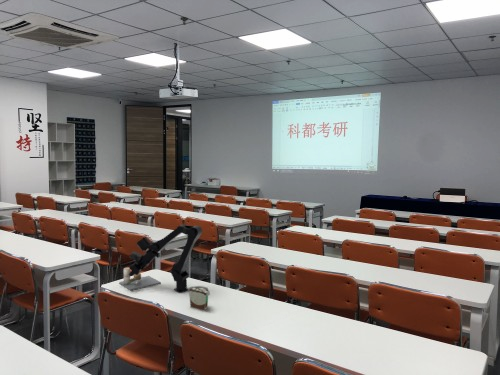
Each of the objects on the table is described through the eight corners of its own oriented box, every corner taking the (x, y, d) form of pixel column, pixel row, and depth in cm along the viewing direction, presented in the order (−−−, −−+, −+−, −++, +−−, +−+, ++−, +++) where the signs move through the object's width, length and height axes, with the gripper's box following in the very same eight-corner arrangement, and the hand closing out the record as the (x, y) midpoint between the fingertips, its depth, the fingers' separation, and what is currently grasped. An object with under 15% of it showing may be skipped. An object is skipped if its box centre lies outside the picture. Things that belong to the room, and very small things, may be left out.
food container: (214, 307, 196) (214, 288, 195) (207, 312, 191) (207, 292, 190) (196, 302, 202) (196, 284, 201) (188, 306, 197) (188, 287, 196)
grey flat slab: (160, 283, 231) (160, 282, 231) (130, 290, 219) (130, 289, 218) (148, 277, 243) (148, 275, 243) (119, 283, 231) (119, 281, 231)
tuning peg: (136, 277, 238) (136, 263, 238) (142, 278, 236) (142, 264, 236) (121, 283, 226) (121, 268, 226) (127, 284, 225) (127, 269, 224)
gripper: (143, 243, 234) (126, 261, 235) (132, 251, 215) (113, 270, 217) (156, 256, 234) (139, 274, 236) (146, 265, 215) (127, 284, 217)
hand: (129, 275), depth 226 cm, fingers closed
